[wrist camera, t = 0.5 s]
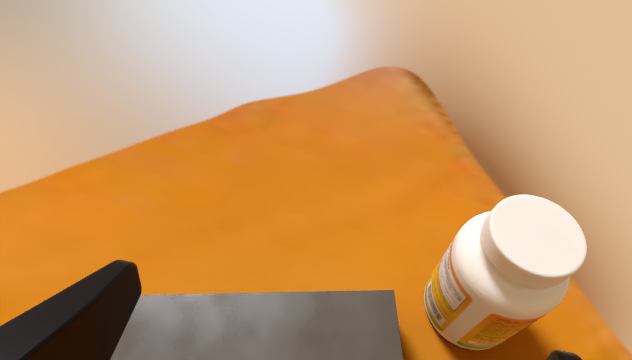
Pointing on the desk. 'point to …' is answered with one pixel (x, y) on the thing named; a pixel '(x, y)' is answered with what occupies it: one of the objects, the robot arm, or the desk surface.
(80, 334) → the robot arm
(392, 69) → the desk surface
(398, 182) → the desk surface
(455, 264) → the supplement bottle
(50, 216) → the desk surface
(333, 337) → the socket block
